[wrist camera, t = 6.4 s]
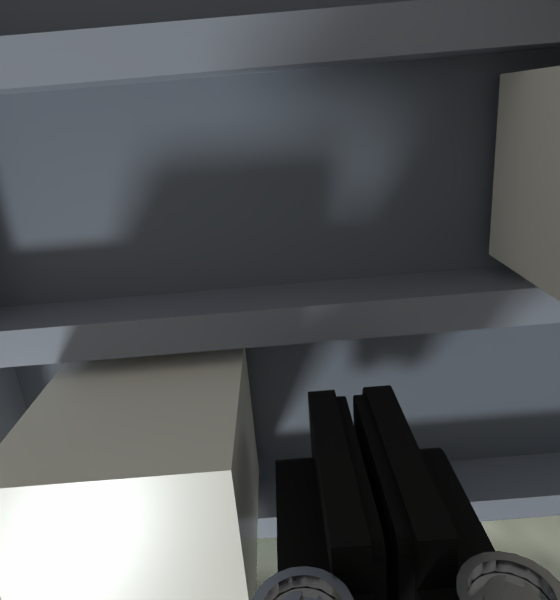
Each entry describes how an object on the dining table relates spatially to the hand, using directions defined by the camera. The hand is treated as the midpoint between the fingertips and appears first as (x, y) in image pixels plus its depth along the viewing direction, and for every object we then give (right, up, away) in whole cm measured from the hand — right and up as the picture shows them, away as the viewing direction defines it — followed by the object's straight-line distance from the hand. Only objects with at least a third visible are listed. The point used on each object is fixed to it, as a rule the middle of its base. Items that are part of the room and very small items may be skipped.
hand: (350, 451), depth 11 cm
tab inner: (-4, 0, +2) cm, 5 cm away
